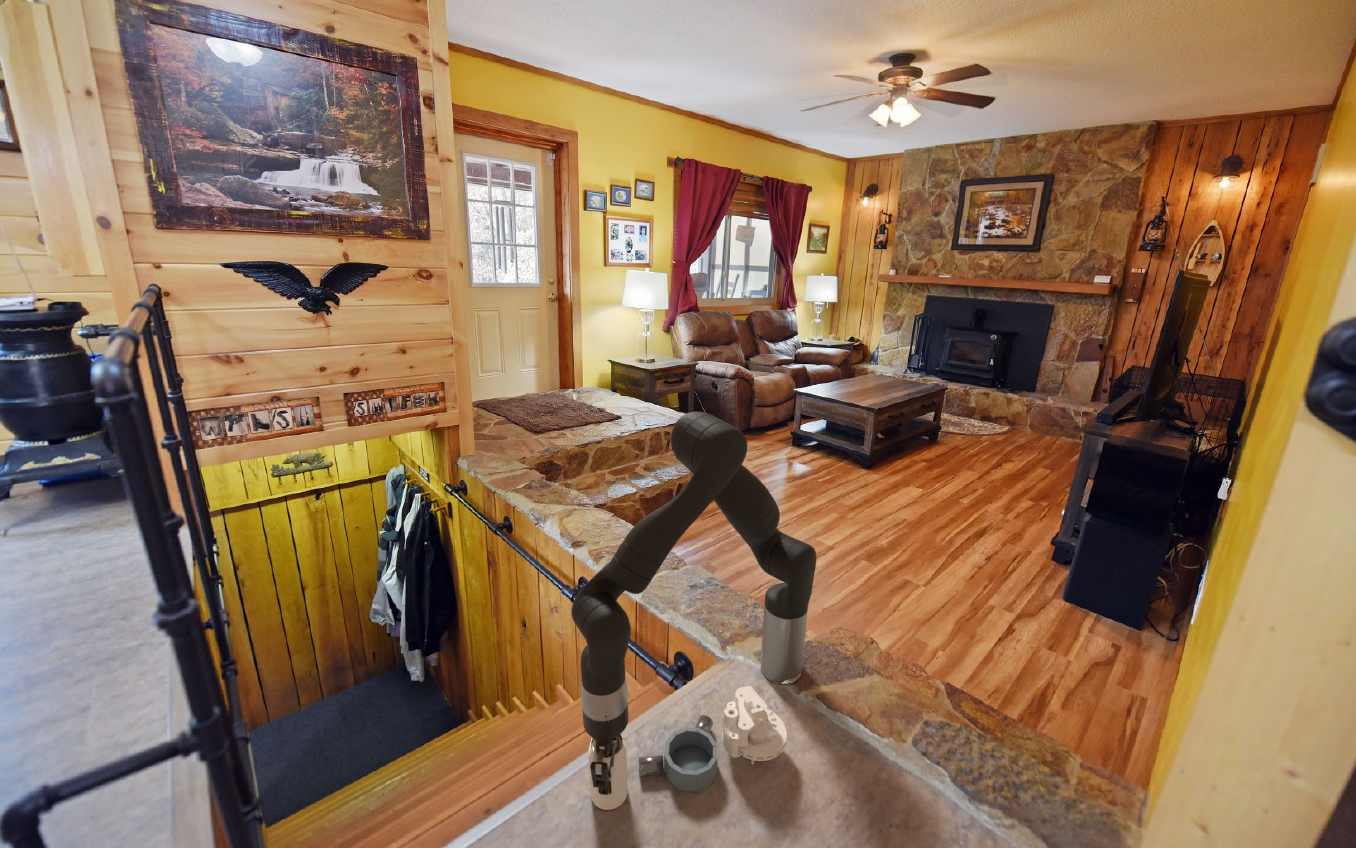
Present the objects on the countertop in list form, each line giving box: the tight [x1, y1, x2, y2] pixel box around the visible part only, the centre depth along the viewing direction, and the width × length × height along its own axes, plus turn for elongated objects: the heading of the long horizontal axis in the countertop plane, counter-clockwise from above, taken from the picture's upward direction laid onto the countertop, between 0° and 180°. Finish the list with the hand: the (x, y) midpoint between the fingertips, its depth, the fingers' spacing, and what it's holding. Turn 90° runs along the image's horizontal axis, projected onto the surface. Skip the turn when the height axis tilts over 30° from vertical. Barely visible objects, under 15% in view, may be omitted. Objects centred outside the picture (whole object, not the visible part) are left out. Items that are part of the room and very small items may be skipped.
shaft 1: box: [638, 754, 665, 777], centre depth 101 cm, size 4×3×3 cm
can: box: [587, 733, 629, 811], centre depth 96 cm, size 6×6×12 cm
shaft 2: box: [694, 714, 714, 735], centre depth 108 cm, size 4×3×3 cm
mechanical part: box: [721, 685, 788, 766], centre depth 104 cm, size 11×12×12 cm
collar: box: [663, 726, 718, 794], centre depth 102 cm, size 10×10×4 cm
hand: (609, 774), depth 97 cm, fingers closed on can, 5 cm apart
